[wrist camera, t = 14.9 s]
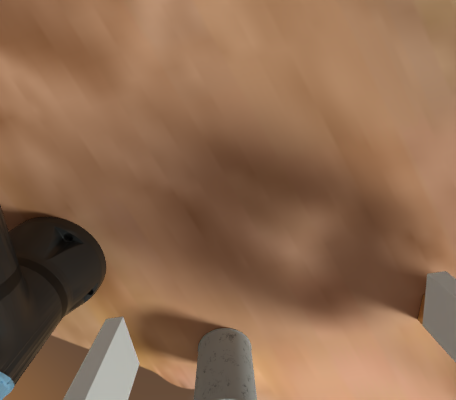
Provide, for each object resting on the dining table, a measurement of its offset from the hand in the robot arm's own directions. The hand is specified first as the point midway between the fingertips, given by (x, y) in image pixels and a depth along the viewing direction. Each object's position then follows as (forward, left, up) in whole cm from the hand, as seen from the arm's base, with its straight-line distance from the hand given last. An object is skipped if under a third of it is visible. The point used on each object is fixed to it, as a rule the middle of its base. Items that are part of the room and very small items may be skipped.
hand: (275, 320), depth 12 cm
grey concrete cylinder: (-7, -32, -29) cm, 44 cm away
